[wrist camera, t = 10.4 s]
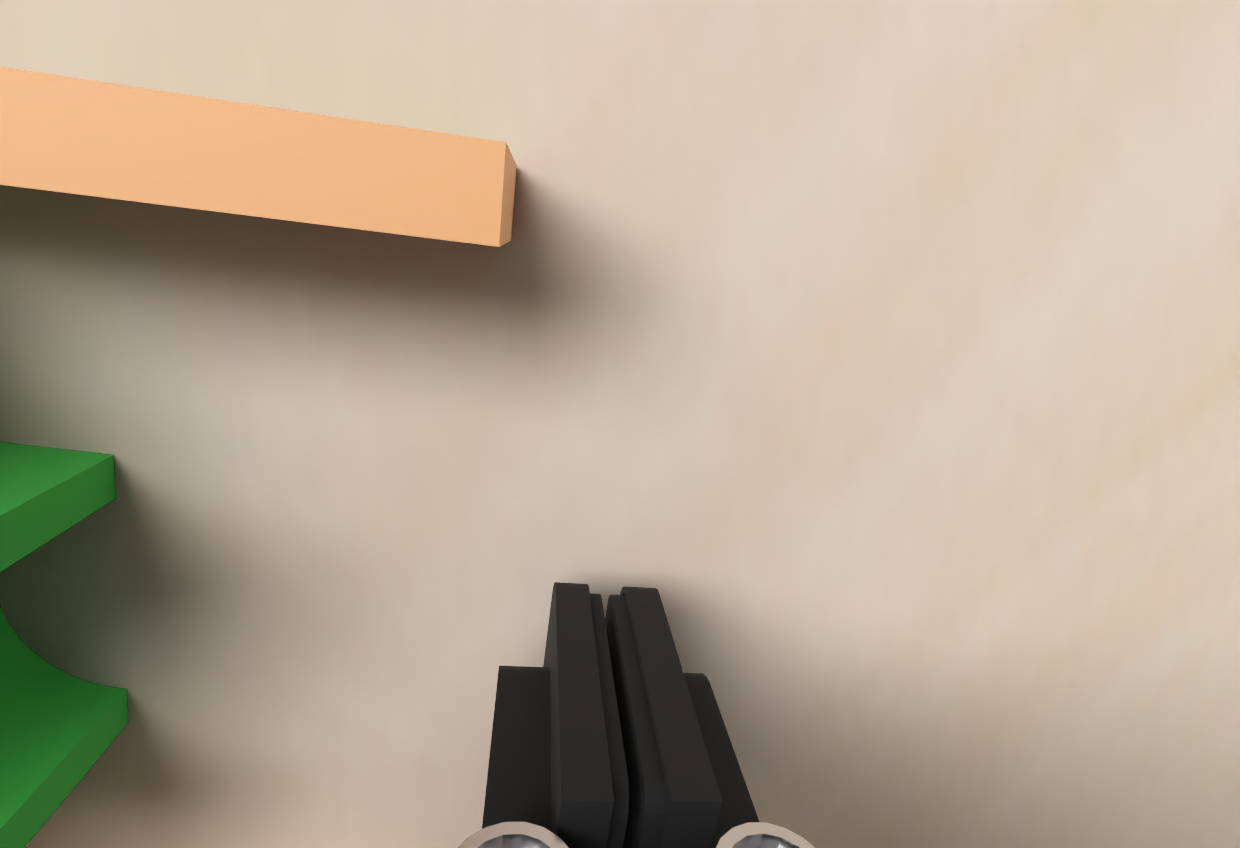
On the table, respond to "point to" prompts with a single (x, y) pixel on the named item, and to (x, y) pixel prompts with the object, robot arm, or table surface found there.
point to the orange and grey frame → (251, 160)
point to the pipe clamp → (17, 677)
